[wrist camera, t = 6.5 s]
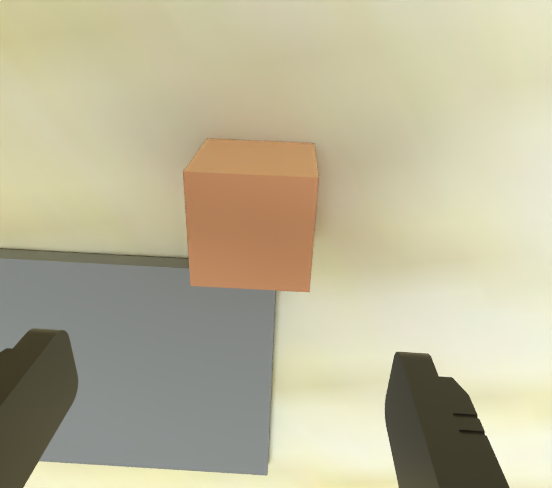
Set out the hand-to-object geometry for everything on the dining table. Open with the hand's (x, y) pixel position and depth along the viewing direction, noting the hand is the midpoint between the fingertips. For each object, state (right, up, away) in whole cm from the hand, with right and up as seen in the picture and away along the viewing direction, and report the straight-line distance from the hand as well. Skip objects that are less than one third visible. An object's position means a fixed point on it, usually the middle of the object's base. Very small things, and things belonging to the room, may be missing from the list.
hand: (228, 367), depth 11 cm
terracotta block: (0, +6, +11) cm, 12 cm away
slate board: (-8, -5, +17) cm, 19 cm away
